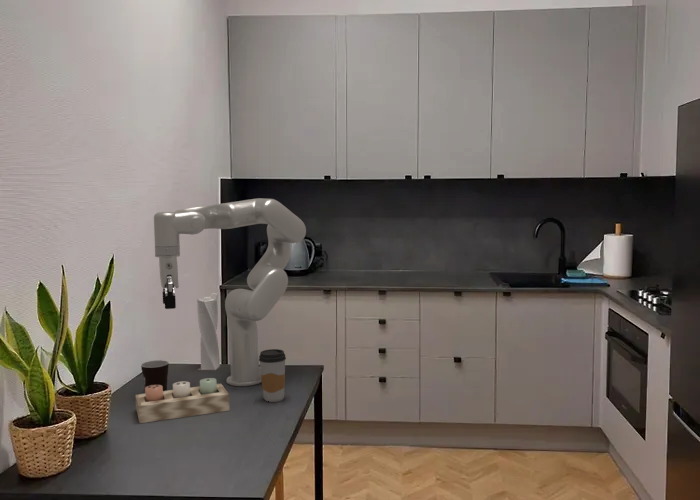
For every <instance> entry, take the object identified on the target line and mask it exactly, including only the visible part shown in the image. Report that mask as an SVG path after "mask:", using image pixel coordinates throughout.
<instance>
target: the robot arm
mask: <svg viewBox="0 0 700 500" xmlns="http://www.w3.org/2000/svg"><path fill="white" fill-rule="evenodd" d="M258 224H259V225H260V224H261V225H264V224H265V225H267V227H266V234H267V240H268V245H267V248H266V251H265V252H264V254H263V255H262V256H261V258H260V259H259V260H258V262H257V263H255V265H254V267H252V269H251V270H250V272H249V273H248V275H247V278H246V282H247V283H246V284H247V285H248V287H249V288H250V289H251V290H250V289H245V288H236V289H233V290H231V291H230V292H229V293H227V295H226V297H225V301H224V303H225V304H224V307H225V309H224V310H225V314H226V317H227V324H228V336H229V337H228V339H229V342H228V343H229V358H230V359H229V360H230V375H229V376H228V377H227V378H226V384H228V385H230V386H234V387H235V386H236V387H247V386H255V385H258V384H262V380H261V368H260V361H259V356H260V355H259V337H258V336H259V335H258V334H259V333H258V332H259V331H258V324H257V322H259V321H261V320H263V319H265V318H266V317H267V316H268V315H269V314H270V313H271V311H272V309H273V308H274V307H275V306H276V305H277V303H278V302H279V300H280V299H281V297H282V296H283V295H284V294H285V292H286V290H287V288H288V285H289V277H288V274H287V272H286V271H285V270H284V269H285V268H286V267H287V265H288V263H289V261H290V258H291V245H290V244H298V243H300V242H302V241H303V240H304V239H305V237H306V234H307V227H306V225H305V223H304V221H302V219H301V218H300V217H299V216H297V215H296V214H294V213H293V212H292V211H291V210H290V209H288V208H287V207H286V206H285V205H283V203H281V202H280V201H278V200H276V199H274V198H260V197H258V198H252V199H244V200H239V201H230V202H225V203H217V204H211V205H205V206H204V205H203V206H197V207H196V206H195V207H189V208H188V207H187V208H182V209H178V210H176V211H161V212H160V211H159V212H156V213H155V214H154V215H153V229H154V230H153V231H154V233H153V234H154V257H155V258H158V260H159V262H158V263H159V278H160V284H161V288H162V303H163V304H164V308H165V310H170V309H171V310H172V309H176V308H177V303H176V294H175V289H178V288H179V287H180V286H179V272H178V271H179V270H178V267H179V266H178V257H180V256H181V247H180V246H181V244H180V235H181V234H182V235H190V236H191V235H198V234H200V233H201V232H203V231H204V230H207V229H213V230H214V229H217V230H228V229H229V230H230V229H236V228H241V227H247V226H252V225H258Z"/></svg>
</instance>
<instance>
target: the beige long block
mask: <svg viewBox="0 0 700 500" xmlns="http://www.w3.org/2000/svg"><path fill="white" fill-rule="evenodd" d="M134 396H135V410H136V414H137V417H138V418H137V419H138V422H139V424H144V423H153V422H156V421H157V422H158V421H166V420H172V419H179V418H187V417H193V416H200V415H201V416H202V415H206V414H207V415H208V414H215V413H221V412H229V411H230V394H229V392H228V391H227V390H226V388H225V387H224V385H223V384H222V383H217V393H211V394H203V395H201V394H200V385H198V386H193V387H191V386H190V396H188V397H180V398H173V389H170V390H168V389H167V391H163V400H158V401H150V402H146V395H145V393H138V394H135V395H134Z"/></svg>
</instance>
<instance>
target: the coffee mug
mask: <svg viewBox="0 0 700 500" xmlns="http://www.w3.org/2000/svg"><path fill="white" fill-rule="evenodd" d="M140 366H141V373H142V378H143V383H144V388H145V387H147V386H150V385H162V386H163V391H168V381H169V380H168V377H169V361H168V360H162V359H161V360H149V361H146V362H143V363H141V364H140Z"/></svg>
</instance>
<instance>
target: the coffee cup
mask: <svg viewBox="0 0 700 500" xmlns="http://www.w3.org/2000/svg"><path fill="white" fill-rule="evenodd" d="M258 356H259V366H260V368H261V380H262V382H261V388H262V393H263V399H264V400H265V402H268V401H269V403H277V402H281V401H283V400H284V398H285V387H286V383H285V382H286V360H287V359H286V358H287V357H286V354H285V351H284V350H282V349H278V348H277V349H276V348H270V349H263V350H262V351H260V353H259V355H258Z"/></svg>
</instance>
